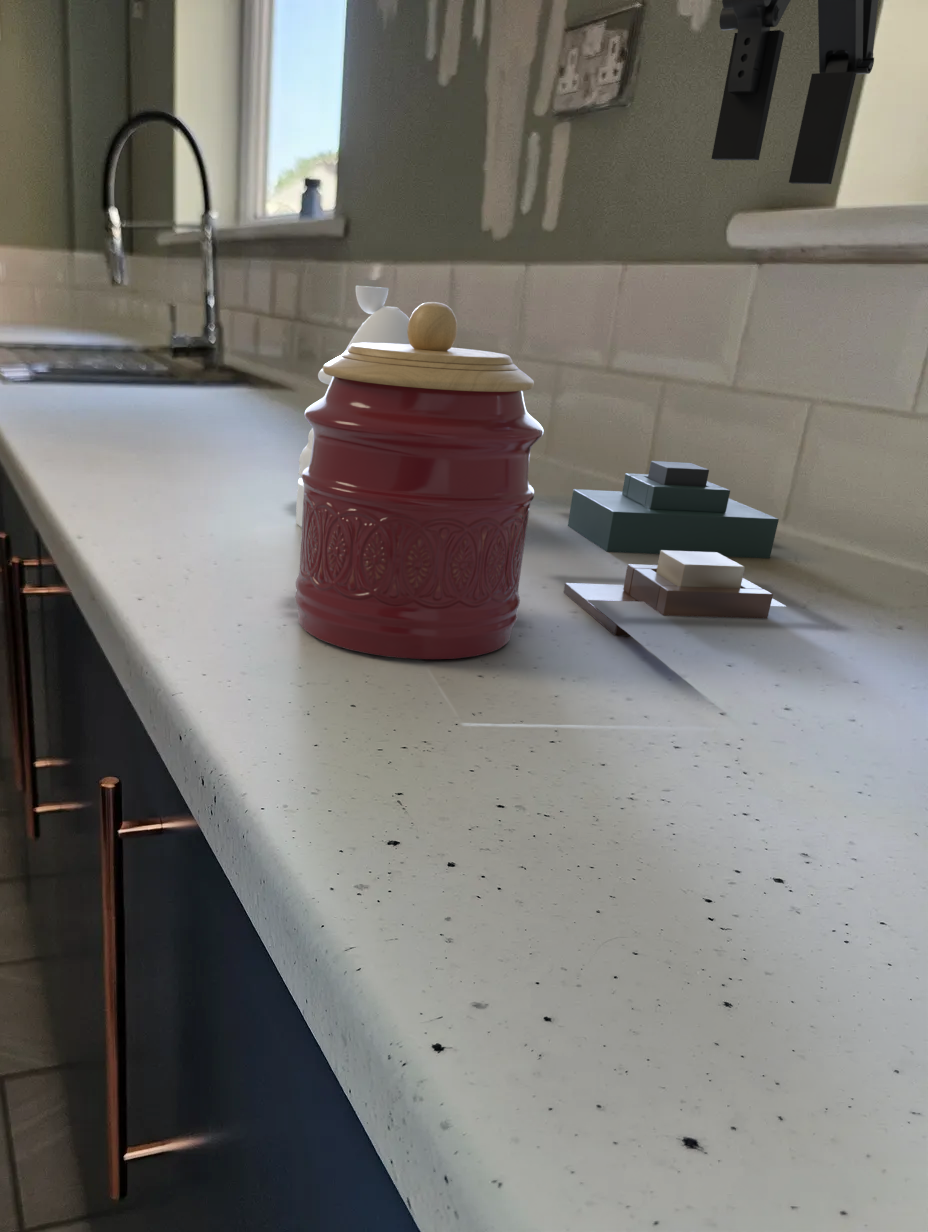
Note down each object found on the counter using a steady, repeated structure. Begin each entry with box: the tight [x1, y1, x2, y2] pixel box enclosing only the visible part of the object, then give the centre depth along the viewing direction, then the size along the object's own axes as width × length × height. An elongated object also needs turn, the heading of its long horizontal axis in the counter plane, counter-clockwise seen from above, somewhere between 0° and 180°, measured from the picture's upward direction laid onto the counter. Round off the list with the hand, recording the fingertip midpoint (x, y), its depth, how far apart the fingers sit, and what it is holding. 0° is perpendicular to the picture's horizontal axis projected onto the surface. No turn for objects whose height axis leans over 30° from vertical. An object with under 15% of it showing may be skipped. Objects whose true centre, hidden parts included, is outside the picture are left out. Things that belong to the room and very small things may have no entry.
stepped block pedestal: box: [563, 563, 786, 637], centre depth 73 cm, size 14×10×2 cm
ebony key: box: [648, 460, 710, 487], centre depth 93 cm, size 4×4×2 cm
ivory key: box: [656, 550, 746, 588], centre depth 72 cm, size 4×4×2 cm
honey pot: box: [295, 285, 411, 528], centre depth 90 cm, size 13×13×18 cm
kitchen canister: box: [294, 301, 545, 660], centre depth 62 cm, size 13×13×18 cm
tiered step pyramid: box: [567, 472, 780, 559], centre depth 94 cm, size 14×10×5 cm
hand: (774, 173), depth 74 cm, fingers open, 13 cm apart
